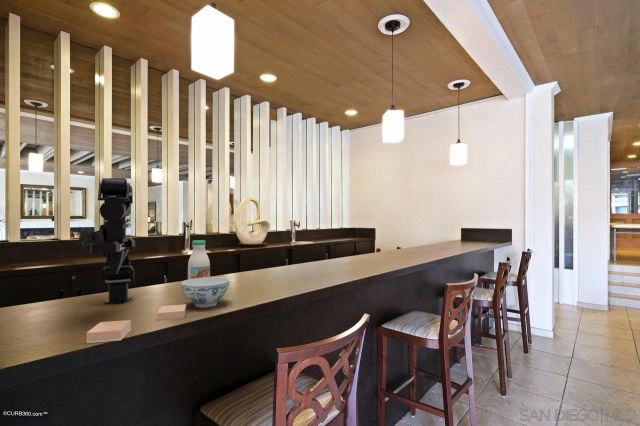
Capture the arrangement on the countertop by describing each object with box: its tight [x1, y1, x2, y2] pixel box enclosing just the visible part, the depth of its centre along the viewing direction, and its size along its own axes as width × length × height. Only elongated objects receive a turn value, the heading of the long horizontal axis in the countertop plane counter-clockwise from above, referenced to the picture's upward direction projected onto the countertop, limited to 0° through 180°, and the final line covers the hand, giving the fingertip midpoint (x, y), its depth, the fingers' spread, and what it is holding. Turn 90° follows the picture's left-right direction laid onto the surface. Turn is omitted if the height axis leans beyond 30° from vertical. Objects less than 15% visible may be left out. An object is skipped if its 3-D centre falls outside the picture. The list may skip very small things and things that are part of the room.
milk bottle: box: [187, 239, 211, 280], centre depth 126 cm, size 8×8×20 cm
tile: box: [86, 319, 132, 344], centre depth 82 cm, size 2×7×8 cm
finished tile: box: [156, 303, 187, 321], centre depth 100 cm, size 8×7×2 cm
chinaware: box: [180, 276, 231, 308], centre depth 111 cm, size 15×15×8 cm
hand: (114, 274), depth 100 cm, fingers closed
